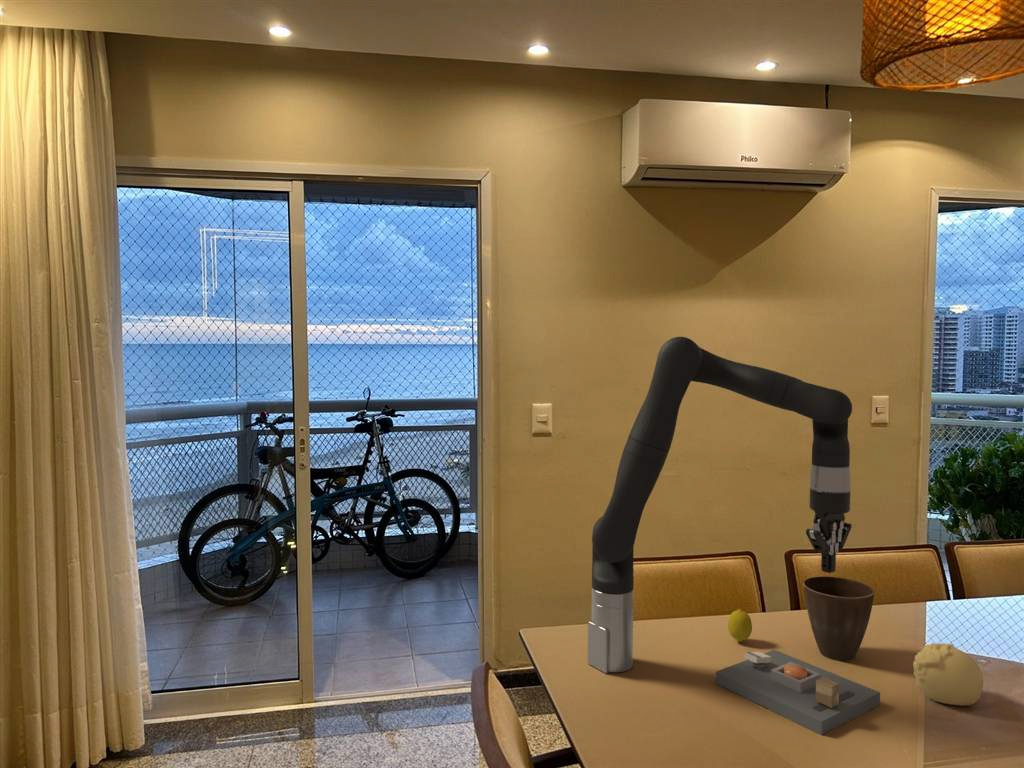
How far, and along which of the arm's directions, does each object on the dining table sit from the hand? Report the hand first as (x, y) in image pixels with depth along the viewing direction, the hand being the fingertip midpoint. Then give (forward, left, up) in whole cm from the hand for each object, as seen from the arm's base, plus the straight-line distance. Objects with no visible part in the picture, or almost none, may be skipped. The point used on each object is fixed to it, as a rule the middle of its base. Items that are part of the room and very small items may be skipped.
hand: (828, 571), depth 141 cm
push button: (-6, +3, -22) cm, 23 cm away
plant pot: (+19, +9, -25) cm, 33 cm away
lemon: (+6, +26, -25) cm, 37 cm away
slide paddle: (-9, -6, -22) cm, 25 cm away
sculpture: (+18, -15, -25) cm, 34 cm away
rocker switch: (-6, +12, -21) cm, 25 cm away
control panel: (-6, +3, -25) cm, 26 cm away
